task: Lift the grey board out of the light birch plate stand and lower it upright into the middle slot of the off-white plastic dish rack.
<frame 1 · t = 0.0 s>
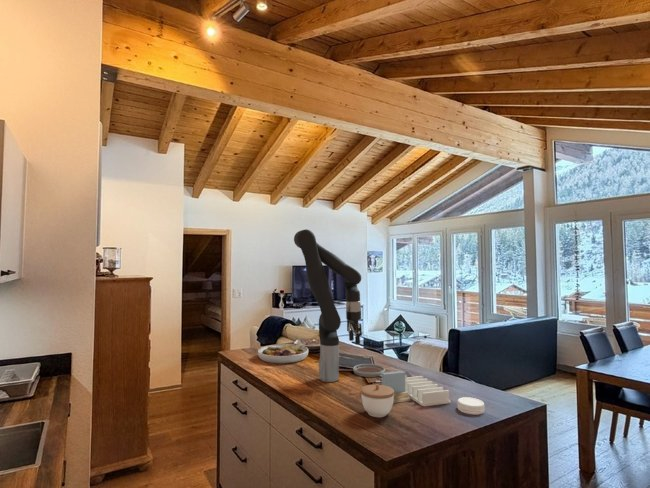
hand: (354, 342, 195), 17 cm above the kitchen island, tool pointing down, fingers open, 8 cm apart
coaster: (470, 410, 153), on the kitchen island
dish rack: (422, 395, 168), on the kitchen island
lidded bowl: (377, 414, 149), on the kitchen island
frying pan: (376, 376, 197), on the kitchen island
plate stand: (393, 399, 164), on the kitchen island
grey board: (393, 396, 164), point 1 cm above the kitchen island, touching plate stand
bowl: (283, 358, 231), on the kitchen island
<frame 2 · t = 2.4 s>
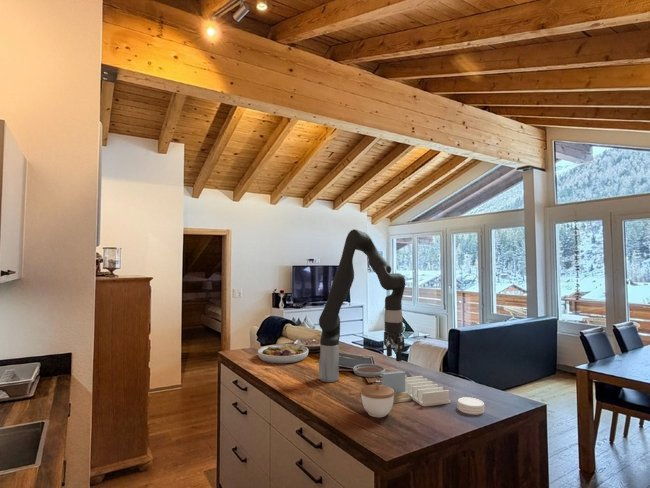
hand: (393, 358, 165), 17 cm above the kitchen island, tool pointing down, fingers open, 8 cm apart
nothing on the kitchen island moved.
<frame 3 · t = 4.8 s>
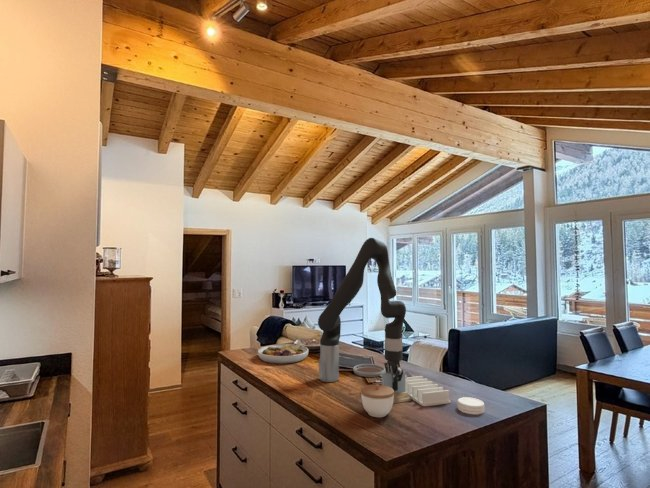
hand: (393, 389, 164), 4 cm above the kitchen island, tool pointing down, fingers closed on grey board, 2 cm apart
grey board: (393, 396, 164), point 1 cm above the kitchen island, touching gripper, plate stand
everything else where it was.
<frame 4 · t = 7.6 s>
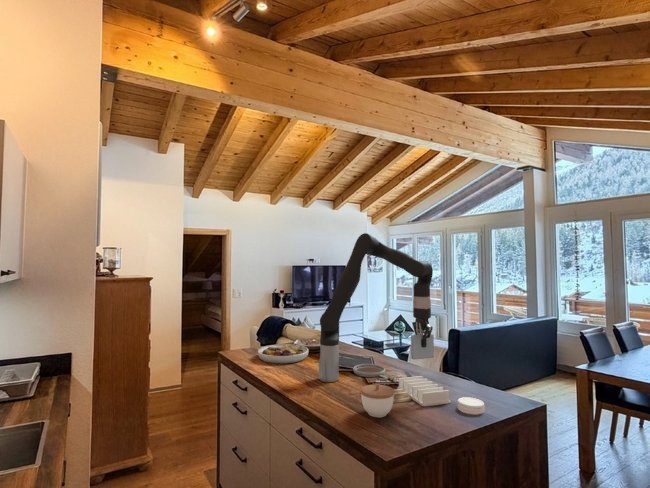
hand: (422, 346, 169), 21 cm above the kitchen island, tool pointing down, fingers closed on grey board
grey board: (422, 358, 169), point 16 cm above the kitchen island, touching gripper
everything else where it was.
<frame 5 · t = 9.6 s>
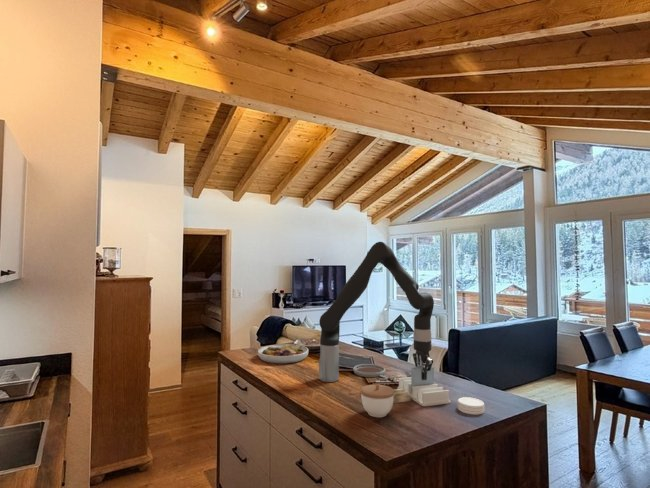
hand: (422, 378, 168), 7 cm above the kitchen island, tool pointing down, fingers closed on grey board, 2 cm apart
grey board: (422, 390, 168), point 2 cm above the kitchen island, touching gripper
everything else where it was.
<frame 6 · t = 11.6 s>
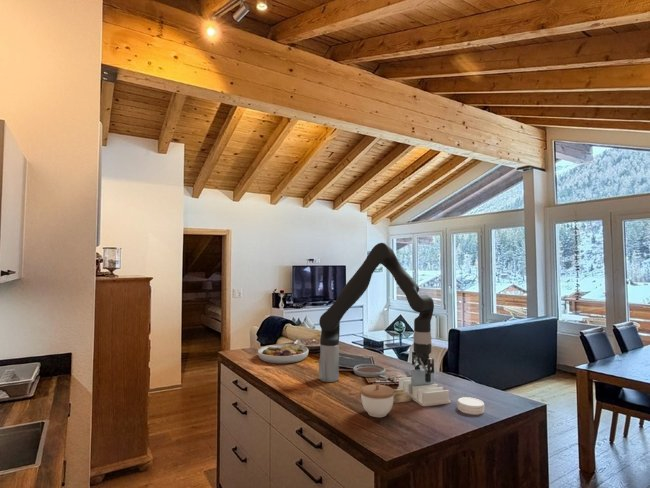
hand: (422, 379, 168), 7 cm above the kitchen island, tool pointing down, fingers open, 8 cm apart
grey board: (422, 393, 168), point 1 cm above the kitchen island, touching dish rack
everything else where it was.
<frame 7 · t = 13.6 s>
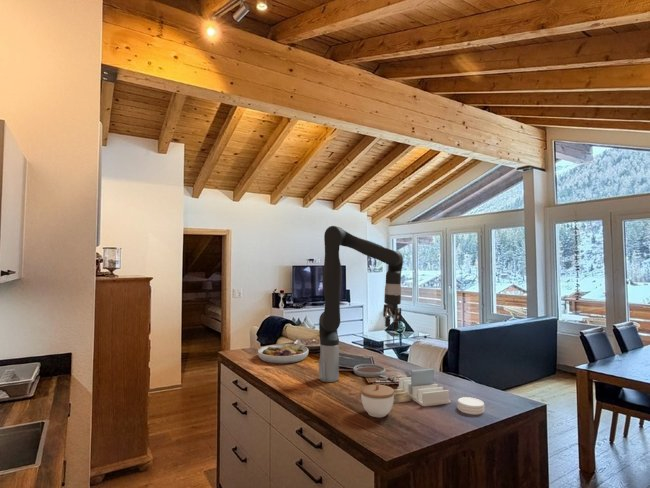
hand: (391, 328, 180), 27 cm above the kitchen island, tool pointing down, fingers open, 8 cm apart
nothing on the kitchen island moved.
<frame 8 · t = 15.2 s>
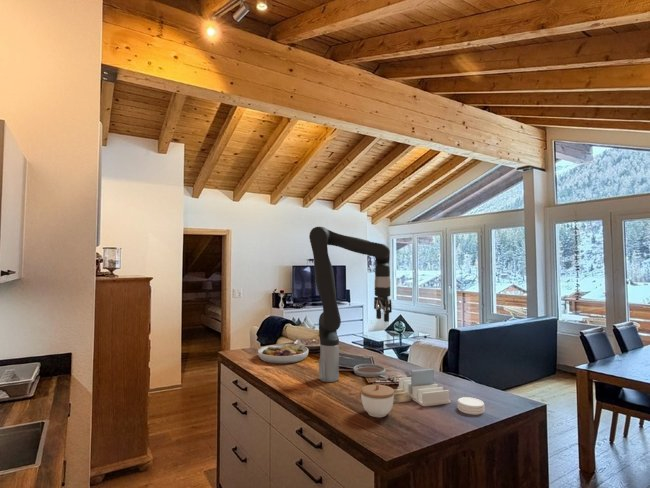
hand: (382, 320, 184), 30 cm above the kitchen island, tool pointing down, fingers open, 8 cm apart
nothing on the kitchen island moved.
at the end: grey board 0.1 cm off-centre on the dish rack, point 1.0 cm above the dish rack's base; grey board tilted 0°; the gripper is holding nothing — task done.
